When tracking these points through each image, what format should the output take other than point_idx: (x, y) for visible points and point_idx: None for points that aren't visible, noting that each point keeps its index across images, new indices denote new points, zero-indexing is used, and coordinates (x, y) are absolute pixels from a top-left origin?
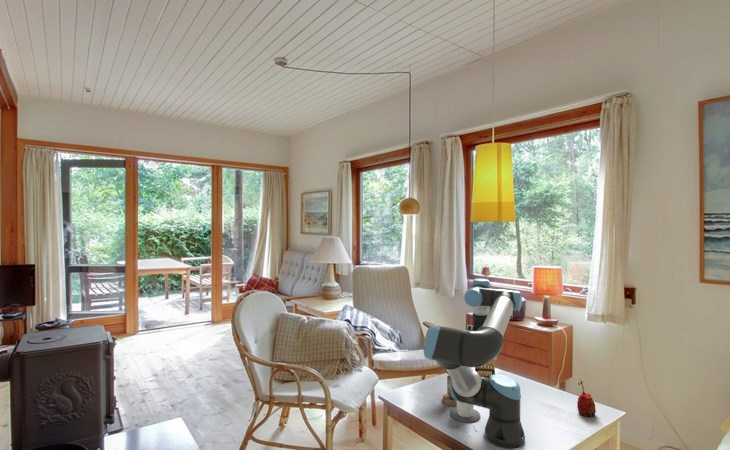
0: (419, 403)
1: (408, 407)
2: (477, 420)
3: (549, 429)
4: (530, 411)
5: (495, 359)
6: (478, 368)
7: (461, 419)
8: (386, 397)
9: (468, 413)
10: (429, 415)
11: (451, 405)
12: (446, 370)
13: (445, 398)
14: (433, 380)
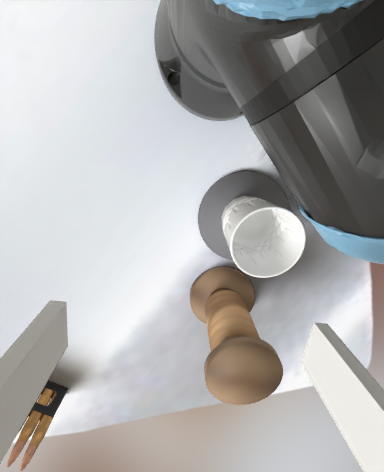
0: (316, 313)
1: (356, 304)
2: (233, 173)
3: (27, 23)
4: (18, 158)
5: (61, 303)
6: (43, 413)
7: (278, 194)
8: (369, 362)
9: (254, 197)
10: (336, 251)
11: (244, 275)
12: (280, 378)
13: (246, 305)
14: (197, 402)
